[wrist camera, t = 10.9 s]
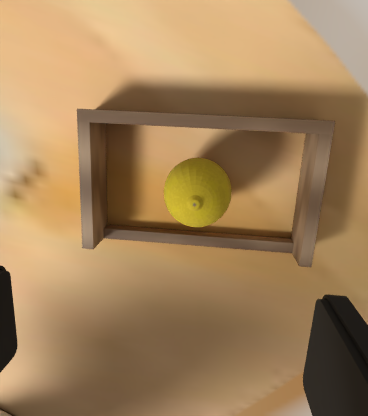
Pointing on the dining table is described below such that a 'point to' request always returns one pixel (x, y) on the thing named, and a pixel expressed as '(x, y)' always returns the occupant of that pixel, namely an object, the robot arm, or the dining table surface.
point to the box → (98, 229)
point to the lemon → (197, 192)
